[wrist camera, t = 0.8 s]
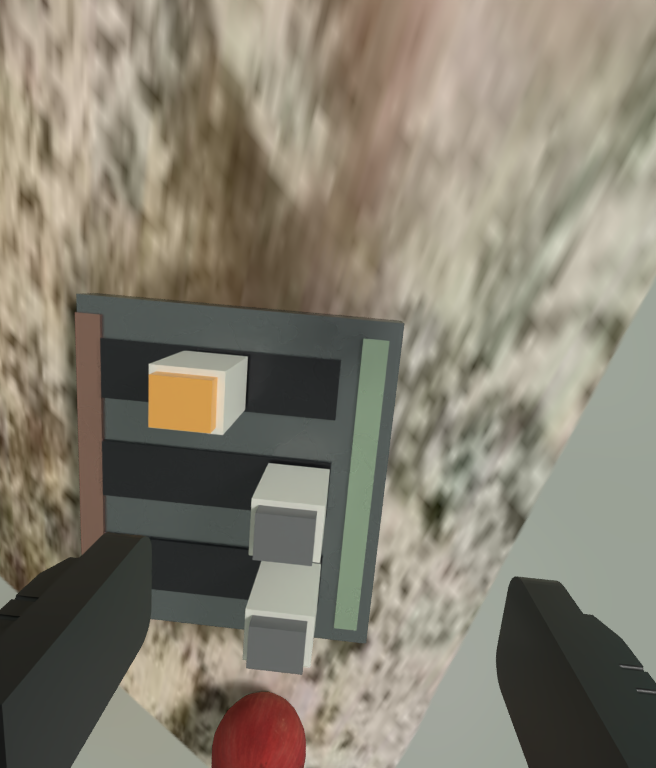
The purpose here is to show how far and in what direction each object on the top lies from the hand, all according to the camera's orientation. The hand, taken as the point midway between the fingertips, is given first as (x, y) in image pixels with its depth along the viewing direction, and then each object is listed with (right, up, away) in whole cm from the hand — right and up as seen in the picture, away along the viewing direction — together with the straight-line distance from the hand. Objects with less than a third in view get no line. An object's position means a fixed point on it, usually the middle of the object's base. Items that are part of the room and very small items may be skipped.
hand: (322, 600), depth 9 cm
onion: (-4, -18, +24) cm, 31 cm away
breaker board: (-6, -1, +21) cm, 21 cm away
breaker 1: (-2, -2, +18) cm, 18 cm away
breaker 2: (-2, -8, +19) cm, 21 cm away
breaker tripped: (-6, +4, +17) cm, 19 cm away
